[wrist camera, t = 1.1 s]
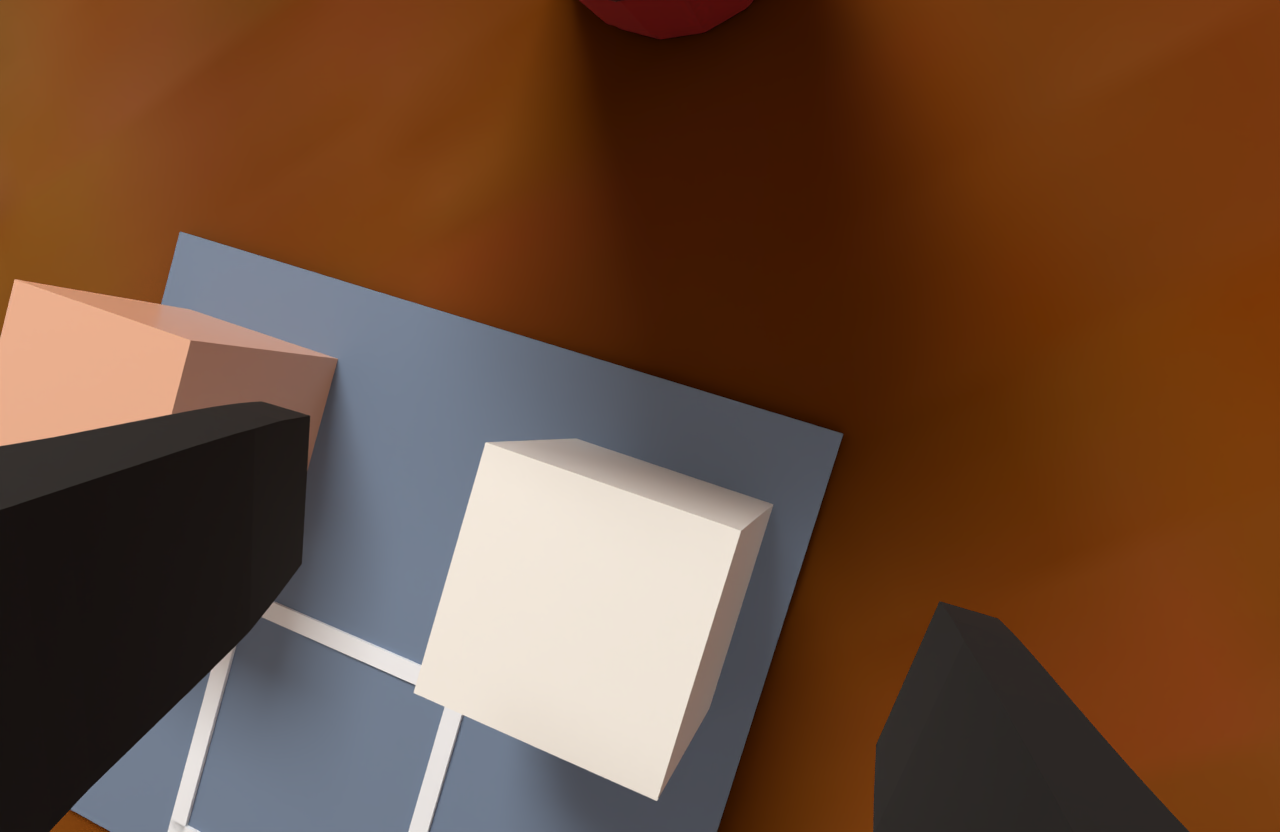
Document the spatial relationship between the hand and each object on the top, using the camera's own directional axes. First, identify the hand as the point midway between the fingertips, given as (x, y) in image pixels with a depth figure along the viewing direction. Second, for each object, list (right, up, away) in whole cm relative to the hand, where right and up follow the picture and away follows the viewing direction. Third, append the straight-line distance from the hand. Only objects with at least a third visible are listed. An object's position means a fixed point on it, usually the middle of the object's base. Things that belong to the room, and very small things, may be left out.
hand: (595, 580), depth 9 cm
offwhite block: (0, -2, +11) cm, 11 cm away
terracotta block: (-11, +2, +14) cm, 17 cm away
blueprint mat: (-6, -4, +13) cm, 15 cm away
